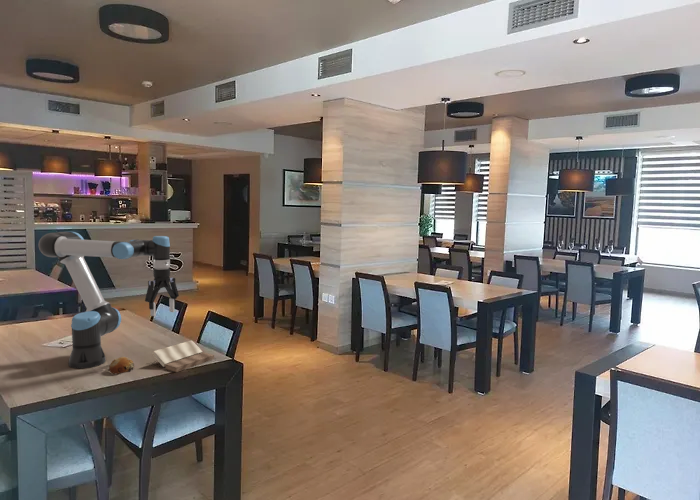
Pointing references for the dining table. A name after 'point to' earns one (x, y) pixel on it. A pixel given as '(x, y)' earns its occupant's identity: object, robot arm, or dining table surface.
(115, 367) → the bread roll
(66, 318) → the dining table surface
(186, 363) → the walnut plank
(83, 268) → the robot arm
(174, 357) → the cream corrugated panel
